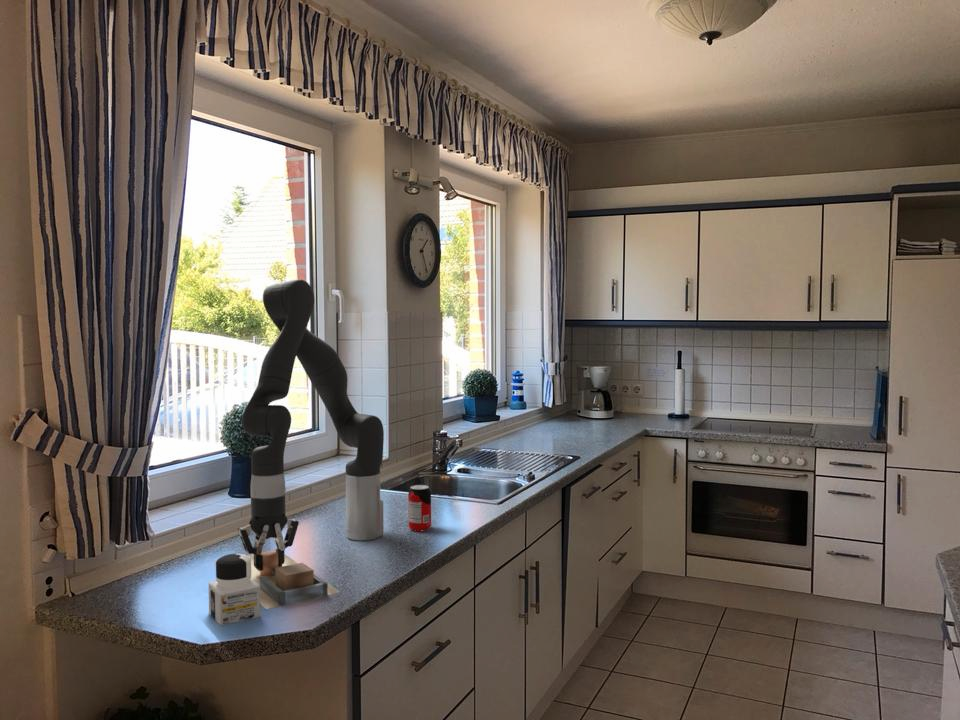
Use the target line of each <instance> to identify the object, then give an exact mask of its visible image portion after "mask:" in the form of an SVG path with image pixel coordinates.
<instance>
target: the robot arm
mask: <svg viewBox="0 0 960 720" xmlns="http://www.w3.org/2000/svg"><path fill="white" fill-rule="evenodd" d="M262 303H263V306H264V307H263V308H264V309H265V311H266V314H267V315H268V317H269V318H270V319H271V321H272V323H273V324H274V325H275V327H276V328H277V329H278V331H279V332H280V333H279V334H278V336H277V337H276V339H275V340H274V341H273V343H272V345H271V346H270V348H269V349H268V350H267V352H266V354H265V356H264V358H263V361H262V363H261V367H260V373H259V377H258V383H257V386H256V388H255V390H254V391H253V394H252V396H251V398H250V400H249V401H248V403H247V405H246V406H245V408H244V411H243V414H242V417H241V425H242V428H243V431H244V432H245V433H246V435H248V436H251V437H271V440H270V442H269V444H268V445H263V446H258V447H256V448H254V449H252V451H251V456H250V457H251V458H250V460H251V461H250V462H251V463H250V466H251V467H250V468H251V479H250V516H251V517H250V520H249V523H248V524H247V525H245V526H243V527H242V526H240V527H238V528H237V533H238V536H239V538H240V541H241V544H242V547H243V549H244V551H245V552H247V553H248V555H253V554H254V567H255V568H256V569H257V570H258V571H262V570H263V557H262V554H261V553H262V552H263V548H264V545H265V543H266V540H267V539H268V540H269V539H271V538H272V539H273V541H274V543H275V546H276V548H275V550H276V551H277V552H278V565H279V567H282V564H284V562H285V557H284V554H285V550H286V549H287V548H289V547H292V546H293V545H294V541H295V537H296V534H297V530H298V527H299V525H300V524H299V523H300V522H299V521H298V520H297V519H295V518H288V517H287V515H286V490H287V489H286V479H285V473H284V470H285V468H284V467H285V466H284V465H285V464H284V463H285V462H284V457H285V456H284V455H285V448H286V444H287V440H288V436H289V433H290V430H291V429H290V428H291V425H292V415H291V412H290V411H289V409H288V408H287V406H285V405H282V404H281V405H280V404H272V402H275V401H278V400H282V399H285V398H286V397H287V396H288V395H289V391H290V386H291V381H292V377H293V376H292V374H293V371H294V365H295V361H296V357H297V360H298V361H299V363H300V365H301V366H302V369H303V370H304V372H305V373H306V376H307V377H308V379H309V380H310V382H311V384H312V386H313V387H314V389H315V390H316V392H317V394H318V395H319V398H320V399H321V401H322V403H323V405H324V406H325V408H326V410H327V412H328V414H329V417H330V418H331V421H332V423H333V425H334V428H335V431H336V433H337V434H338V435H337V436H338V437H339V439H340V440H341V442H342V443H343V444H344V445H346V446H348V447H349V448H354V449H355V448H356V449H357V452H356V457H355V459H353V460H350V461H348V462H347V463H346V464H345V518H346V519H345V525H346V527H345V534H346V535H345V537H346V539H349V540H353V541H369V540H374V539H377V538H379V537H382V536H384V535H385V534H384V526H385V525H384V501H383V500H382V499H381V466H382V463H383V457H384V439H385V438H384V435H385V432H384V425H383V422H382V420H381V418H379V417H378V416H376V415H372V414H366V413H365V414H364V413H359V412H357V411H356V409H355V408H354V406H353V404H352V403H351V401H350V398H349V395H348V374H347V369H346V368H345V366H344V364H343V362H342V360H341V358H340V357H339V354H338V353H337V351H336V350H335V349H334V348H333V347H332V346H331V345H329V343H328V342H326V341H324V340H323V339H321V338H320V337H318V336H317V335H316V334H314V333H313V332H312V331H310V330H309V329H308V328H307V327H308V325H309V322H310V319H311V317H312V313H313V310H314V306H315V293H314V290H313V288H312V286H311V285H310V283H309V282H307V281H306V280H304V279H301V278H300V279H298V278H297V279H291V280H288V281H283V282H279V283H273V284H271V285H269V286H266V287H265V289H264V290H263V293H262ZM270 403H271V405H270ZM285 526H286V528H287V529H286V532H285V536H283V533H282V532H283V530H284V528H285ZM251 531H253V533H254V539H253V545H252V542H251V540H250V537H249V536H250V534H251Z"/></svg>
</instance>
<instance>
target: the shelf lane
mask: <svg viewBox="0 0 960 720" xmlns="http://www.w3.org/2000/svg"><path fill="white" fill-rule="evenodd" d="M273 551H276V549H274V550H273ZM246 555H247V554H246ZM247 556H249V557H250V558H251V579H252V580H253V581H255V582H256V583H257V584H258V585H259V586H260V606H262V607H263V608H264V609H265V610H269V609H275V608H278V607H283V606H287V605H291V604H296V603H300V602H305V601H309V600H313V599H319V598H321V597H322V598H323V597H325V596H326V597H327V596H331V595H335V594H340V593H341V591H340V590H338V589H336V588H335V587H334V586H332V585H331V584H329V583H328V582H327V581H325V580H323V579H322V578H321V577H319V576H318V575H316V574H315V573H314V585H310V586H305V587H300V588H296V589H291V590H286V591H282V590H281V589H280V588H279V587H277V586H276V576H275V575H273V576H262V575H261V574H260V571H258V570H257V569H256V568H255V567H254V554H248V555H247ZM284 557H285V562H284V564H282V567H283V566H288V565H293V564H298V563H299V562H297V561H296V560H294V559H293V558H291V557H290V556H289V555H287V554H285V553H284ZM216 561H217V560H216ZM216 561H213V564H215V565H216Z"/></svg>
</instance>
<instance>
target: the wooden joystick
mask: <svg viewBox="0 0 960 720" xmlns="http://www.w3.org/2000/svg"><path fill="white" fill-rule="evenodd" d="M261 554H262V557H263V570H262V571H260V574H261V575H262V576H273V575H275V576H276V586H277V587H279V588H280V589H281V590H282V591H286V590H291V589H296V588H300V587H305V586H310V585H314V574H315V573H314V571H315V570H314V569H312V567H310V566H308V565H307V564H305V563H303V562H300V563H299V562H297V563H298V564H293V565H288V566H283V567H279V565H278V552H277V551H274V550H267V551H262V552H261Z"/></svg>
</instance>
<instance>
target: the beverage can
mask: <svg viewBox="0 0 960 720" xmlns="http://www.w3.org/2000/svg"><path fill="white" fill-rule="evenodd" d="M429 488H430V486H428V485H426V484H425V485H424V484H415V485H411V486H410V489H409V492H408V494H407V495H408V496H407V497H408V499H407V500H408V501H407V502H408V504H407V505H408V510H407V511H408V527H409V529H410V530H411V531H413V530H416V531H415V532H422V531H421V530H426V531H428V530H429V529H430V528H431V526H432V492H431V490H430V489H429ZM427 529H428V530H427Z"/></svg>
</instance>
